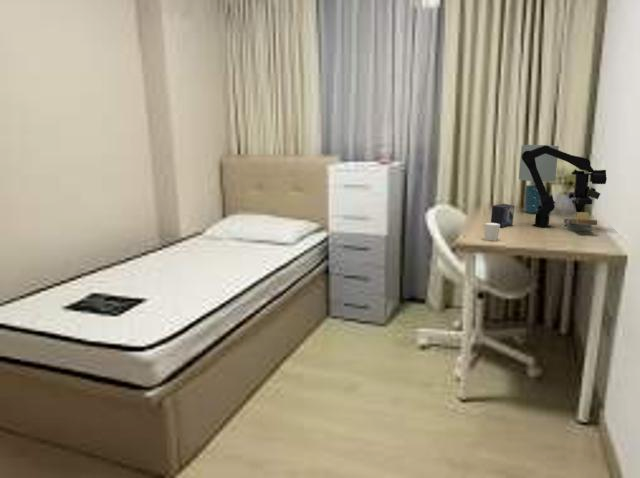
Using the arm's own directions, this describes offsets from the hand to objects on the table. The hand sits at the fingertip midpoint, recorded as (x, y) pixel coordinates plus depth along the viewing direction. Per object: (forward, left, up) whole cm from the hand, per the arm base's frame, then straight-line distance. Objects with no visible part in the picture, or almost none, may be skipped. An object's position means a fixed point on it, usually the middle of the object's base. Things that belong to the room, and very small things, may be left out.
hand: (578, 215), depth 264 cm
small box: (-29, +21, -7) cm, 36 cm away
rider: (-3, -4, -2) cm, 6 cm away
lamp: (+18, +41, -7) cm, 46 cm away
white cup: (-57, +1, -7) cm, 57 cm away
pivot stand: (-4, -4, -6) cm, 8 cm away
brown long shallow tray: (-4, -4, -3) cm, 6 cm away
